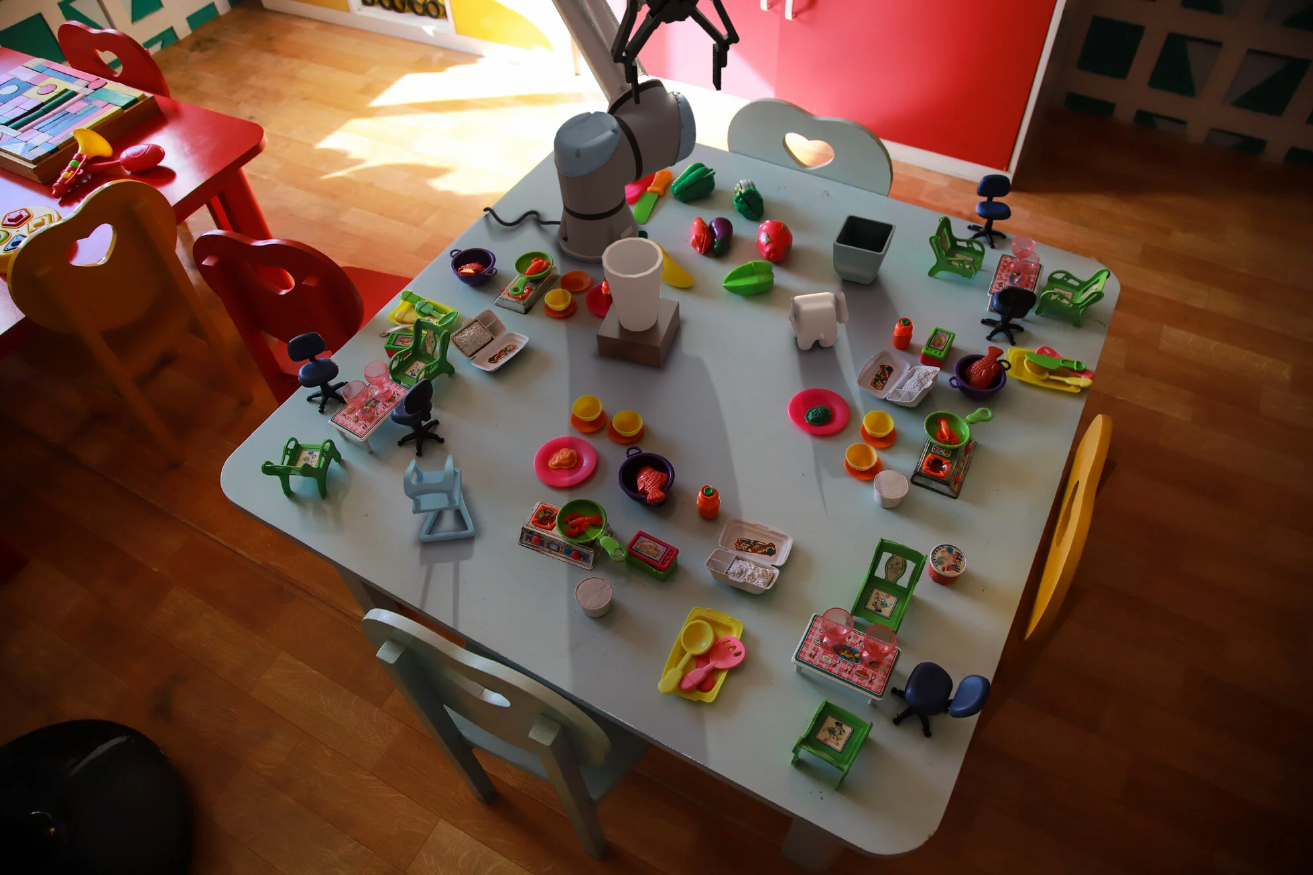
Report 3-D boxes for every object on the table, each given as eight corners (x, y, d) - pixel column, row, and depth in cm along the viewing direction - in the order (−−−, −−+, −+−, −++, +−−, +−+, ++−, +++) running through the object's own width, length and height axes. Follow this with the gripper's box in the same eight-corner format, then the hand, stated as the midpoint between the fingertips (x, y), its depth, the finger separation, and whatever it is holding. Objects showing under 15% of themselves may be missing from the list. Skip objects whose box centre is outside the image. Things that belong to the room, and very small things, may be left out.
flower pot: (841, 252, 152) (847, 212, 144) (888, 264, 149) (897, 224, 142) (826, 282, 147) (832, 243, 140) (874, 295, 144) (883, 255, 137)
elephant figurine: (830, 306, 143) (836, 267, 136) (848, 355, 136) (856, 317, 129) (776, 312, 143) (780, 273, 136) (791, 363, 136) (796, 324, 129)
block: (599, 355, 139) (596, 334, 135) (620, 311, 145) (617, 290, 141) (661, 367, 137) (659, 347, 133) (679, 322, 143) (679, 301, 139)
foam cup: (668, 299, 139) (665, 238, 129) (663, 338, 134) (660, 278, 123) (613, 297, 140) (606, 237, 130) (606, 336, 135) (597, 276, 124)
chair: (476, 489, 123) (456, 441, 114) (474, 536, 118) (454, 490, 109) (425, 495, 123) (401, 447, 114) (421, 543, 118) (395, 497, 109)
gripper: (590, -22, 114) (606, 118, 131) (763, -48, 116) (756, 92, 133) (582, -44, 119) (598, 94, 136) (748, -69, 121) (743, 69, 138)
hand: (676, 93), depth 134 cm, fingers open, 13 cm apart
